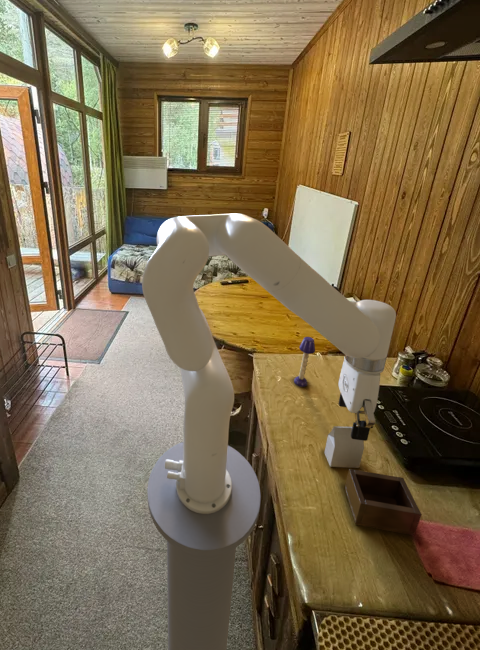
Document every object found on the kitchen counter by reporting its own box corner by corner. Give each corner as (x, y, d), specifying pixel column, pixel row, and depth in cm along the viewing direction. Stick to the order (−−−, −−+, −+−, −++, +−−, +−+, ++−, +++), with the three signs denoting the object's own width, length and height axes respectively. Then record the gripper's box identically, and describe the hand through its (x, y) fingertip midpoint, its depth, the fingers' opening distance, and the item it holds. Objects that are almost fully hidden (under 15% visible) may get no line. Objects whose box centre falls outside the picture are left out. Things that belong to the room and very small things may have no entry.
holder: (355, 524, 61) (360, 503, 59) (344, 488, 68) (349, 468, 66) (414, 535, 59) (421, 514, 57) (396, 497, 66) (403, 477, 64)
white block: (359, 467, 72) (367, 434, 69) (330, 466, 72) (337, 433, 69) (351, 454, 76) (359, 421, 73) (324, 453, 76) (330, 420, 73)
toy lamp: (305, 378, 104) (312, 334, 98) (311, 387, 99) (319, 342, 94) (291, 378, 103) (298, 335, 98) (297, 388, 99) (304, 342, 94)
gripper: (335, 335, 74) (325, 394, 79) (359, 381, 58) (345, 451, 63) (369, 338, 73) (356, 397, 78) (403, 386, 56) (384, 456, 62)
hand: (351, 421), depth 71 cm, fingers open, 9 cm apart
